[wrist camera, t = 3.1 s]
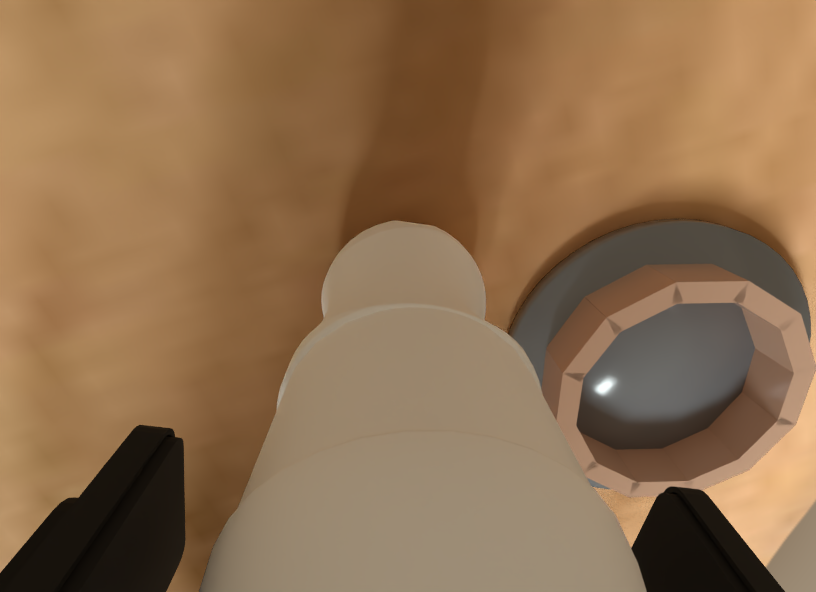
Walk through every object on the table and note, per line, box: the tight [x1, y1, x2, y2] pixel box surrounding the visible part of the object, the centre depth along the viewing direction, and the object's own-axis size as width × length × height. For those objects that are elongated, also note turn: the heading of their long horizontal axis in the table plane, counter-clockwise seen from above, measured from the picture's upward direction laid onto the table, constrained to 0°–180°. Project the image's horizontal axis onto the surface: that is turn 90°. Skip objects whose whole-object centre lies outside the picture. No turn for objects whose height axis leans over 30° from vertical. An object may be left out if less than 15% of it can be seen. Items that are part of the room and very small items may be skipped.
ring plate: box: [508, 219, 816, 497], centre depth 24 cm, size 16×16×4 cm
